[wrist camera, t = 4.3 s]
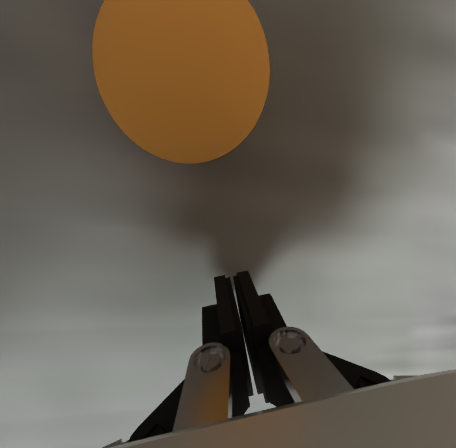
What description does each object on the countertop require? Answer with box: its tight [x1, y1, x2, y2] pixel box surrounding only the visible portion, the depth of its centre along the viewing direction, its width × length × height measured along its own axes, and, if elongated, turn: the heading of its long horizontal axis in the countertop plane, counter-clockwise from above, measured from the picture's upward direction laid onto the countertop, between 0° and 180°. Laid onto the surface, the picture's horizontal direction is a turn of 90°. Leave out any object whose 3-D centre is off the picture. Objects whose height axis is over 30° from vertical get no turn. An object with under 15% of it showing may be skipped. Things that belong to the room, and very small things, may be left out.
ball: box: [92, 0, 270, 164], centre depth 8 cm, size 6×6×6 cm
